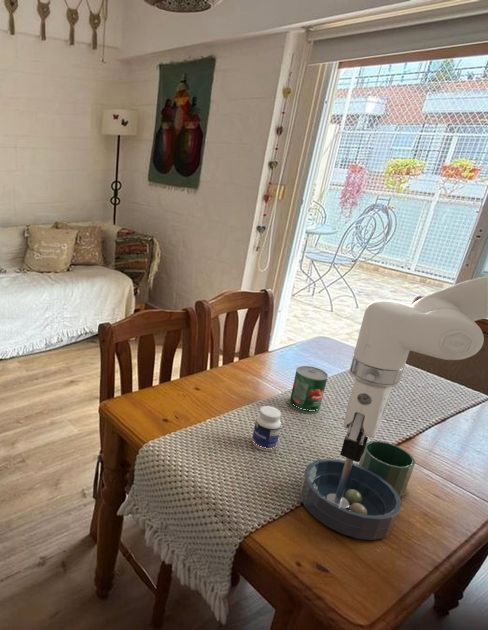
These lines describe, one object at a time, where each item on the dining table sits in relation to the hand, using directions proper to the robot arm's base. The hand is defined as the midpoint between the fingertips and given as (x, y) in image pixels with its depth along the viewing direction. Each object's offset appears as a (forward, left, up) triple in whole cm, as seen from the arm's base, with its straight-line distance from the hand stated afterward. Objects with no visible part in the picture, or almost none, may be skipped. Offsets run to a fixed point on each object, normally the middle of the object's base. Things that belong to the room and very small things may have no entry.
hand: (351, 454), depth 84 cm
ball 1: (-2, -5, -13) cm, 14 cm away
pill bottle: (+19, -13, -15) cm, 27 cm away
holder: (-5, -17, -15) cm, 23 cm away
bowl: (-1, -3, -15) cm, 15 cm away
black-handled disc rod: (0, 0, -13) cm, 13 cm away
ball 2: (-3, -1, -13) cm, 13 cm away
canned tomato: (+17, -39, -15) cm, 45 cm away
